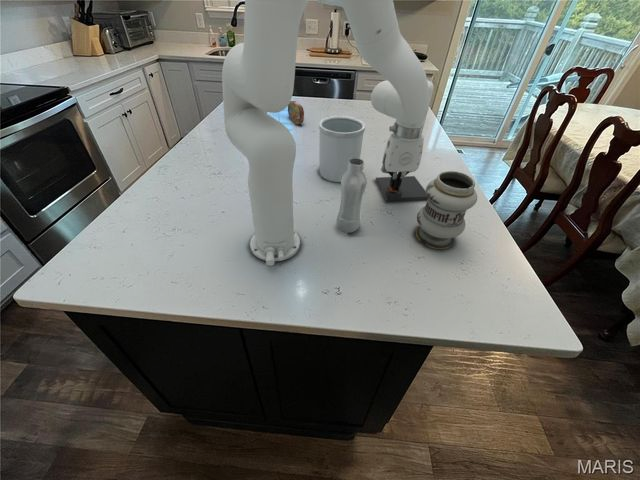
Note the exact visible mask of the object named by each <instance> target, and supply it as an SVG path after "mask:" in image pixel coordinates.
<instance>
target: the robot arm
mask: <svg viewBox="0 0 640 480" xmlns="http://www.w3.org/2000/svg"><path fill="white" fill-rule="evenodd" d="M309 2H310V0H244V15H243V19H244V20H243V42H240V43H237V44H235V45H234V46H233V47H232V48H230V49H229V50H228V52H227V54H226V55H225V57H224V60H223V63H222V70H221V71H222V72H221V85H222V87H221V88H222V104H223V120H224V128H225V133H226V136H227V138H228V140H229V142H230V143H231V144H232V146H234V147H235V148H236V149H237V150H238V152H240V153H241V154H242V156H243V157H244V158H246V160H247V162H248V175H247V188H248V196H249V201H250V208H251V215H252V220H253V221H252V223H253V229H254V234H253V235H252V236H251V238H250V241H249V246H250V247H249V248H250V251H251V253H252V255H254V256H255V257H256V258H258V259H260V260H263V261H265V264H266V266H269V267H272V266H274V265H275V262H282V261H285V260H288V259H290V258H291V257H293V256H294V255H296V254H297V253H298V251H299V250H300V246H301V237H300V236H299V235H298V232H296V231H295V229H294V193H293V174H294V166H295V160H296V156H297V145H296V141H295V138H294V136H293V133H291V130H289V129H288V127H286V125H284V124H283V123H282V122H280V121H279V120H278V119H276V118H274V117H273V116H271V115H270V114H276V113H280V112H283V111H284V110H286V109H288V105H289V103H290V101H292V98H293V94H294V88H295V78H296V77H295V76H296V64H297V49H298V38H299V30H300V24H301V21H302V16H303V13H304V12H305V9H306V7H307V5H308V4H309ZM312 2H317V3H320V4H324V5H327V6H333V7H339V8H342V9H343V11H344V13H345V16H346V19H347V21H348V24H349V27H350V31H351V33H352V36H353V39H354V42H355V45H356V48H357V51H358V54H359V56H360V57H361V58H362V59H363V61H364V62H366V64H368V66H370V67H371V68H372V69H373V70H374V71H376V72H377V73H379V74H380V75H381V76H382V77H383V78H385V79H386V80H383V81H381V82H379V83H377V85H375V86H374V88H373V90H372V91H371V95H370V101H371V102H370V103H371V106H372V107H373V108H374V109H375V110H376V111H377V112H379V113H380V114H382V115H385V116H387V117H390V118H392V119H395V121H394V123H393V125H392V126H391V125H390V126H389V128H388V131H389V132H391V133H390V135H389V137H388V140H387V141H386V145H385V148H384V152H383V156H382V161H381V162H382V166H381V168H380V171H381V172H382V173H383V174H388V175H389V177H391V180H390V187H391V188H392V190H393V191H395V190H396V191H398V190H399V187H400V186H401V182H402V179H404V177H405V176H408V175H409V174H410V173H414V172H416V171H417V170H419V168H420V166H421V161H422V156H423V150H424V139H425V137H424V135H422V134H423V130H424V127H425V124H426V120H427V116H428V112H429V109H430V104H431V101H432V97H433V94H434V90H435V87H434V83H433V81H431V80H429V79H428V77H427V73H426V71H425V68H424V66H423V64H422V63H421V61H420V59H419V58H418V56H417V54H416V53H415V52H414V50H413V49H412V47H411V46H410V43H408V41H407V40H406V39H405V38H404V37H403V35H402V34H401V31H400V26H399V22H398V17H397V13H396V8H395V4H394V0H312ZM268 113H270V114H268Z"/></svg>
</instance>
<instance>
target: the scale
mask: <svg viewBox="0 0 640 480" xmlns="http://www.w3.org/2000/svg"><path fill="white" fill-rule="evenodd" d="M390 180H391V176H381V177H380V176H379V177H375V180H374V181H375V183H376V184H377V187H378V189H379V192H380V193H381V194H382V196H383V198H384V200H385V202H386V203H393V202H394V203H395V202H417V201H418V202H419V201H427V200H428V197H427V195H426V189H425V188H424V187H423V185H422V184H421V183H420V182H419V180H418V179H417V178H416V176H415V175H410V176H409V175H406V176H405V177H404V179H402V182H401V186H400V187H399V190H398V191H397V192H391V191H389V189H390Z"/></svg>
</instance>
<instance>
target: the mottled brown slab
mask: <svg viewBox="0 0 640 480" xmlns="http://www.w3.org/2000/svg"><path fill="white" fill-rule="evenodd" d="M287 114H288V117H289V119H290V121H292V122H293V123H294V124H295V125H296V126H297V125H302V124H303V123H304V122H305V121H304V120H305V110H304V107H303V106H302V105H301V104H300V103H299V102H297V100H291V101H290V103H289V105H288V106H287Z"/></svg>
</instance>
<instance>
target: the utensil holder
mask: <svg viewBox="0 0 640 480" xmlns="http://www.w3.org/2000/svg"><path fill="white" fill-rule="evenodd" d="M318 130H319V149H318V151H319V154H318V155H319V157H318V159H319V161H318V162H319V164H318V166H319V167H318V168H319V175H320V176H321V177H322V178H323V179H325V180H326V181H329V182H333V183H341V179H342V176H343V175H344V174H345V172H346V171H347V170H348V163H349V160H350V159H352V158H358V159H361V155H362V148H363V142H364V141H363V140H364V139H363V138H364V132H365V131H366V124H365V122H364V121H363V120H361V119H359V118H357V117H354V116H349V115H330V116H327V117H326V116H325V117H323V118H322V119H320V121H319V122H318Z"/></svg>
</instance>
